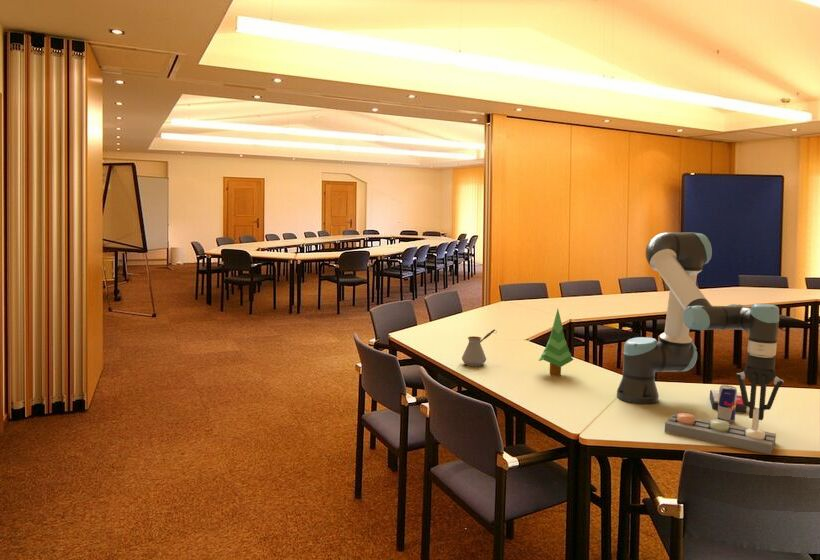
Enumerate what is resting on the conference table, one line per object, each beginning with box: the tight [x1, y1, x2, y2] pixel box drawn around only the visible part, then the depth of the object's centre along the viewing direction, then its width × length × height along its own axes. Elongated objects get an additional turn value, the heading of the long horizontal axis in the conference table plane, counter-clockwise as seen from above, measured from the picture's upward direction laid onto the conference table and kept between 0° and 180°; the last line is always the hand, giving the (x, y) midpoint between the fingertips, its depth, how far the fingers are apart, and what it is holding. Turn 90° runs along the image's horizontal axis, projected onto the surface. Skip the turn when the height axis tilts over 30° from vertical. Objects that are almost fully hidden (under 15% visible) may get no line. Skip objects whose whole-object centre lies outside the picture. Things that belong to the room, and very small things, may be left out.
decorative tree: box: [538, 308, 574, 377], centre depth 263 cm, size 14×16×30 cm
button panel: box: [664, 413, 777, 455], centre depth 192 cm, size 30×12×3 cm, turn 53°
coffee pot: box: [461, 328, 498, 367], centre depth 284 cm, size 21×12×15 cm, turn 134°
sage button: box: [710, 419, 730, 433], centre depth 191 cm, size 5×5×3 cm
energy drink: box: [717, 384, 738, 424], centre depth 207 cm, size 5×5×12 cm
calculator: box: [709, 389, 748, 414], centre depth 225 cm, size 11×4×15 cm
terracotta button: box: [677, 412, 696, 426], centre depth 197 cm, size 5×5×3 cm
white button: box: [745, 428, 766, 440], centre depth 185 cm, size 5×5×3 cm
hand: (755, 429), depth 185 cm, fingers closed
